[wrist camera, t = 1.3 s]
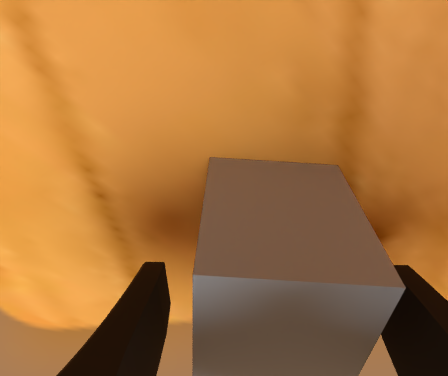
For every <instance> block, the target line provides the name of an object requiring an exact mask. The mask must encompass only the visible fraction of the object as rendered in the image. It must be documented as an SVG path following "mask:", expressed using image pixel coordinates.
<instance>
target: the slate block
mask: <svg viewBox="0 0 448 376" xmlns="http://www.w3.org/2000/svg"><path fill="white" fill-rule="evenodd" d="M405 289H406V287H405V286H404V284H403V282H402V280H401V278H400V276H399V275H398V273H397V271H396V269H395V267H394V266H393V264H392V262H391V260H390V258H389V257H388V255H387V253H386V251H385V249H384V248H383V246H382V244H381V242H380V240H379V239H378V237H377V235H376V233H375V231H374V230H373V228H372V226H371V224H370V222H369V221H368V219H367V217H366V215H365V213H364V211H363V210H362V208H361V206H360V204H359V202H358V201H357V199H356V197H355V195H354V193H353V192H352V190H351V188H350V186H349V184H348V183H347V181H346V179H345V177H344V175H343V174H342V172H341V170H340V168H339V166H338V165H327V164H311V163H295V162H279V161H263V160H247V159H231V158H215V157H210V160H209V167H208V173H207V180H206V187H205V194H204V201H203V208H202V215H201V222H200V229H199V236H198V242H197V249H196V256H195V263H194V270H193V376H358V375H359V373H360V371H361V370H362V368H363V366H364V364H365V362H366V360H367V359H368V357H369V355H370V353H371V351H372V349H373V348H374V346H375V344H376V342H377V340H378V338H379V336H380V335H381V333H382V331H383V329H384V327H385V325H386V324H387V322H388V320H389V318H390V316H391V314H392V312H393V311H394V309H395V307H396V305H397V303H398V301H399V300H400V298H401V296H402V294H403V292H404V290H405Z"/></svg>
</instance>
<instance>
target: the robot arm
mask: <svg viewBox="0 0 448 376" xmlns="http://www.w3.org/2000/svg"><path fill="white" fill-rule="evenodd" d="M393 266H394V267H395V269H396V271H397V273H398V275H399V276H400V278H401V280H402V282H403V284H404V286H405V287H406V289H405V290H404V292H403V294H402V296H401V298H400V300H399V301H398V303H397V305H396V307H395V309H394V311H393V312H392V314H391V316H390V318H389V320H388V322H387V324H386V325H385V327H384V329H383V331H382V333H381V335H382V339H383V341H384V343H385V346H386V348H387V351H388V353H389V355H390V357H391V360H392V362H393V365H394V367H395V369H396V372H397V374H398V376H448V301H447V300H446V299H445V298H444V297H443V296H441V295H440V294H439V293H438V292H437V291H436V290H435V289H434V288H433V287H432V286H431V285H429V284H428V283H427V282H426V281H425V280H424V279H423V278H422V277H421V276H420V275H419V274H417V273H416V272H415V271H414V270H413V269H412V268H411V267H409V266H408V265H393ZM170 304H171V302H170V296H169V289H168V283H167V276H166V270H165V263H164V262H145V263H144V264H143V265H142V267H141V268H140V270H139V271H138V273H137V275H136V276H135V278H134V279H133V281H132V282H131V284H130V285H129V286H128V288H127V289H126V291H125V292H124V294H123V295H122V296H121V298H120V299H119V301H118V302H117V303H116V305H115V306H114V307H113V309H112V310H111V311H110V313H109V314H108V315H107V317H106V318H105V319H104V321H103V322H102V323H101V325H100V326H99V327H98V328H97V329H96V331H95V332H94V333H93V334H92V336H91V337H90V338H89V339H88V340H87V342H86V343H85V344H84V345H83V347H82V348H81V349H80V350H79V351H78V352H77V354H76V355H75V356H74V357H73V358H72V359H71V360H70V361H69V362H68V364H67V365H66V366H65V367H64V368H63V369H62V370H61V371H60V372H59V373H58V375H57V376H156V374H157V371H158V367H159V363H160V359H161V354H162V350H163V346H164V342H165V338H166V334H167V327H168V320H169V312H170Z"/></svg>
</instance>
